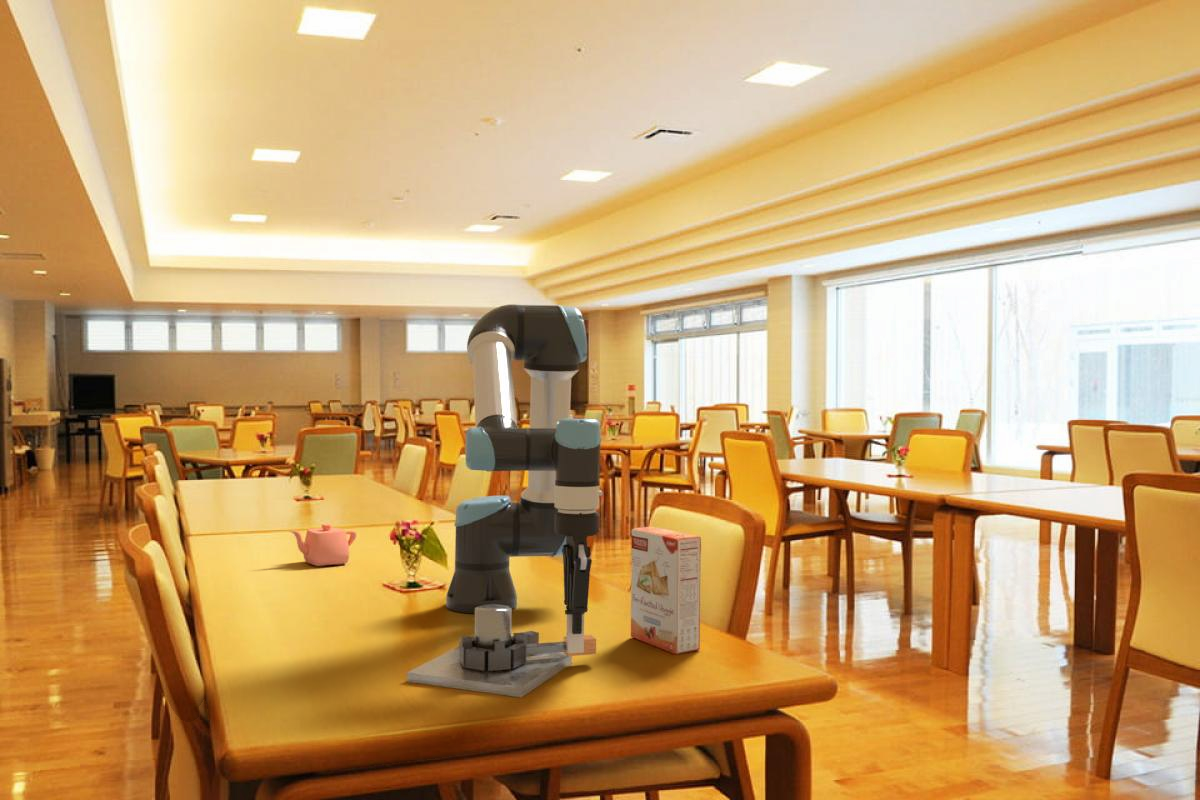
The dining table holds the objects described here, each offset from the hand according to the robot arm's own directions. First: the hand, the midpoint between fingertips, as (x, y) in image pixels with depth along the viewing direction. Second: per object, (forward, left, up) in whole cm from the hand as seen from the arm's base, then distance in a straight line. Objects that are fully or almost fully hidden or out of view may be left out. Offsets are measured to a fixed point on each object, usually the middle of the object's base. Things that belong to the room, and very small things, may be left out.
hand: (574, 651), depth 160 cm
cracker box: (+9, +21, -3) cm, 23 cm away
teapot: (-97, +62, -3) cm, 115 cm away
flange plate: (-12, -7, -3) cm, 14 cm away
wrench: (-7, -3, -1) cm, 8 cm away
